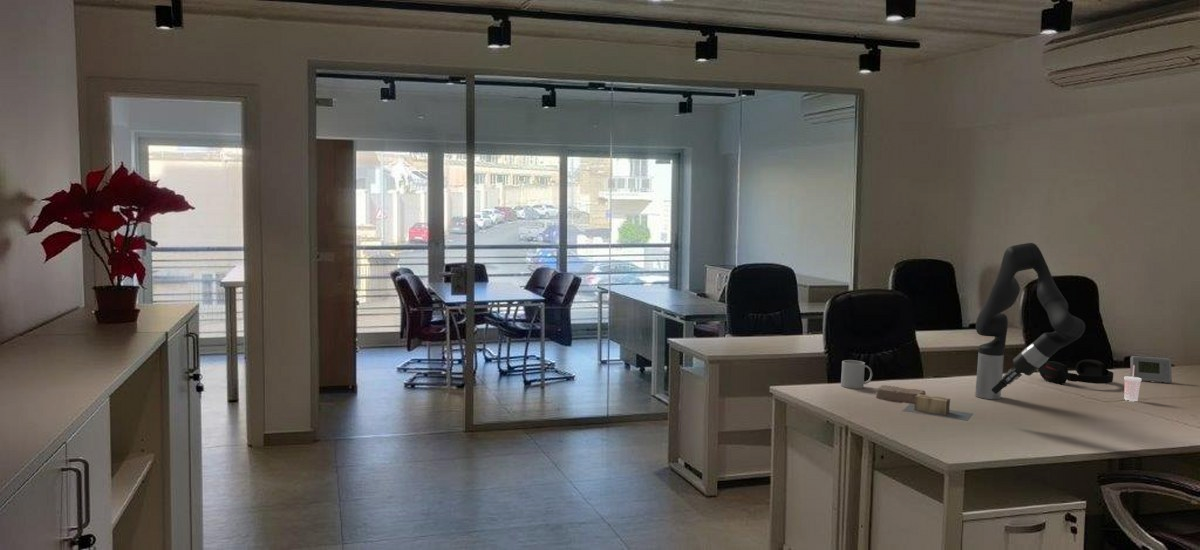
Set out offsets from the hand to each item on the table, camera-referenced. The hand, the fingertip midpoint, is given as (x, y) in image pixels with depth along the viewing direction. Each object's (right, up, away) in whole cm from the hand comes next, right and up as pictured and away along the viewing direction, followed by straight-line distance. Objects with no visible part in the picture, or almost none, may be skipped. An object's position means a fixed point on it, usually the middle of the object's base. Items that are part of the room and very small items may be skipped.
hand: (993, 391), depth 307 cm
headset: (+70, -6, +78) cm, 105 cm away
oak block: (-13, -6, +8) cm, 16 cm away
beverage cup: (+74, -9, +43) cm, 86 cm away
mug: (-34, -5, +51) cm, 61 cm away
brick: (-22, -8, +30) cm, 38 cm away
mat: (-16, -9, +10) cm, 21 cm away
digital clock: (+107, -7, +84) cm, 136 cm away
